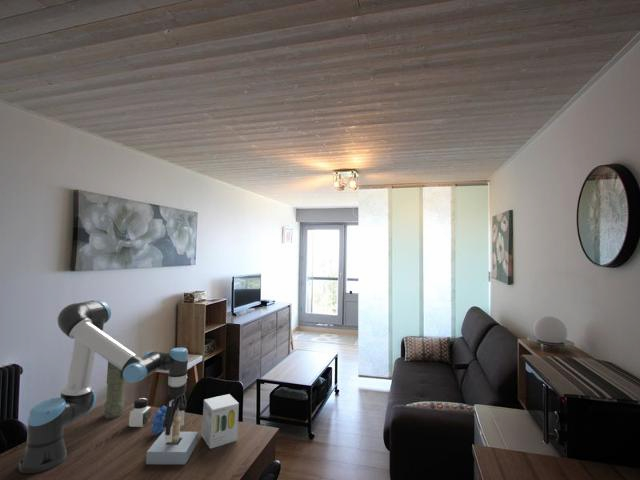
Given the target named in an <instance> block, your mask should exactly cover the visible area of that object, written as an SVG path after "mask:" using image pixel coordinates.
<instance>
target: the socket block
mask: <svg viewBox="0 0 640 480" xmlns="http://www.w3.org/2000/svg"><path fill="white" fill-rule="evenodd" d="M164 441H165V430H163V431H162V432H161V434H160V435H159V436H158V437H157V439H156V440H155V441H154V442H153V443H152V445H151V446H150V447H149V448H148V450H147V451H146V460H145V465H186V464H187V462H188V460H189V459H190V457H191V455H192V454H193V451H195V448H196V446H197V445H198V443H199V431H180V434H179V444H178V445H169V442H164Z"/></svg>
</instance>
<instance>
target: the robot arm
mask: <svg viewBox="0 0 640 480" xmlns="http://www.w3.org/2000/svg"><path fill="white" fill-rule="evenodd" d="M111 315H112V310H111V308H110V306H109V304H107V302H106V301H104V300H100V299H99V300H98V299H97V300H89V301H81V302H76V303H70V304H68V305H66V306H65V307H64V308H63V309H62V310H61V311H60V312H59V314H58V316H57V326H58V328H59V329H60V331H61V332H62V333H63V334H65V335H66V336H67V337H68V338H69V339H71V340H74V342H73V348H72V353H71V360H70V365H69V371H68V377H67V382H66V386H64V388H62V389H61V393H60V396H59V397H55V398H50V399H48V400H47V399H46V400H43V401H40V402H39V403H37V404H36V405H34V406H32V408H31V409H30V411H29V414H28V415H29V416H28V418H27V435H26V436H27V437H26V447H25V449H24V451H23V452H22V453H23V454H22V455H21V457H20V460H19V463H18V471H19V472H20V473H22V474H36V473H37V474H38V473H40V472H45V471H47V470H50V469H53V468H54V467H56V466H58V465H59V464H61V463H63V461H65V459H66V458H67V456H68V449H67V447H66V443H65V440H64V430H65V427H67V426H68V425H70V424H72V423H73V422H76V421H77V420H79V419H81V418H83V417H85V416H86V415H87V414H89V413H90V412H91V411H92V410H93V409H94V407H95V405H96V402H97V394H96V393H95V391H94V388H93V386H92V385H91V384H90V381H91V377H92V371H93V366H94V359H95V356H96V355H95V354H97V355H99V356H100V357H101V358H103V359H105V360H106V361H107V362H108V361H109V362H110V363H112V364H113V365H114V366H116V367H117V368H119V369H120V370H122V371H123V377H124V379H125V383H128V384H135V383H137V382H140V381H142V380H145V378H146V377H148V376H150V375H152V374H154V373H155V372H157V371H168V380H167V385H168V387H167V395H168V396H171V398H170V400H168V401H167V405H166V406H167V410H166V415H165V419H164V424H163V428H164V431H165V441H164V442H172V428H173V425H172V422H173V419H174V416H176V410H177V416H180V417H181V419H180V427H181V426H184V424H185V411H186V410H187V406H188V405H187V399H186V392H187V379H188V378H189V377H188V365H189V363H188V360H189V350H188V349H187V347H174V348H172V349H170V352H167V351H166V352H165V351H162V352H161V351H156V350H155V351H147V352H146V353H144V354H143V356H142V357H141V356H138V355H137V354H136V353H134V352H133V351H131V350H130V349H129V348H127V347H126V346H124V345H123V344H122V343H120V342H119V341H117V340H116V339H115V338H113V337H112V336H110V334H108V333H106V332H104V325H105V324H106V323H107V322H108V321H109V320H110V319H111Z"/></svg>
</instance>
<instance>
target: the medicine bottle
mask: <svg viewBox="0 0 640 480" xmlns="http://www.w3.org/2000/svg"><path fill="white" fill-rule="evenodd" d="M151 408H152V407H151V406H148V399H147V398H145V397H142V398H141V397H140V398H137V399H135V400H134V404H133V409H132V410H131V411H129V420H128V426H129V427H132V428H135V427H136V428H143V427H145V425H146V424H148V423H149V422H150V421H151V411H152V410H151Z"/></svg>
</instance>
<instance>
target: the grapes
mask: <svg viewBox="0 0 640 480" xmlns="http://www.w3.org/2000/svg"><path fill="white" fill-rule="evenodd" d="M166 410H167V405H166V406H165V405H162V406H161V407H160V408H159V409H158V410H157V411H156V412H155V415H154V417H153V418H152V420H151V423H152V426H151V427H150V428H151V429H150V430H151V432H152V433H153V434H154V436H157V435H159V434H160V433H163V431H165V428H163V424H164V419H165V415H166Z"/></svg>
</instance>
